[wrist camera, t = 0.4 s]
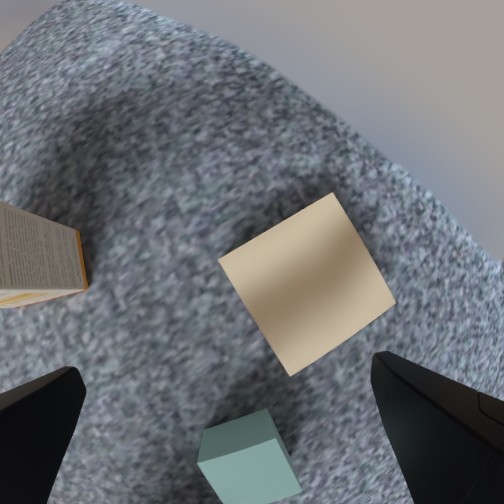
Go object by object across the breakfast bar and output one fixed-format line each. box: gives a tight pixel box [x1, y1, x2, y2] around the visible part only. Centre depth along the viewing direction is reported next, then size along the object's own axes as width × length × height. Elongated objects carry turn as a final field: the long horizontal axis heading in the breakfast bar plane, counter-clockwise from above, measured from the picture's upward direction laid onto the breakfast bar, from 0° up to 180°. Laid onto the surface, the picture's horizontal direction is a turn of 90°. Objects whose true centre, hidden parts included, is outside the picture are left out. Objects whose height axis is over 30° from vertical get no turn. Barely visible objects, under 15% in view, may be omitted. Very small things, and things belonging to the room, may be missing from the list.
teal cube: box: [197, 408, 303, 504], centre depth 18 cm, size 5×5×5 cm
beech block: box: [218, 192, 396, 376], centre depth 20 cm, size 8×8×4 cm
